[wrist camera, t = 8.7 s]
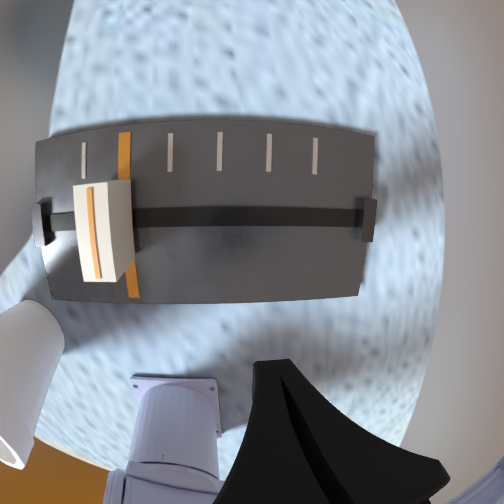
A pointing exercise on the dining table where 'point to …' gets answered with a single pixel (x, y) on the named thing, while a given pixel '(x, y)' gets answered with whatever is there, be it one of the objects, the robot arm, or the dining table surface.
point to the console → (214, 210)
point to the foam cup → (25, 375)
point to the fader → (104, 229)
